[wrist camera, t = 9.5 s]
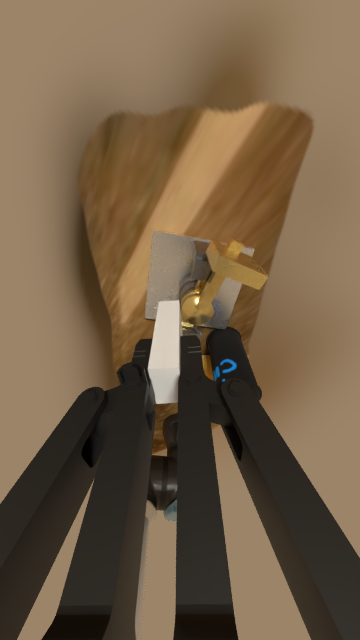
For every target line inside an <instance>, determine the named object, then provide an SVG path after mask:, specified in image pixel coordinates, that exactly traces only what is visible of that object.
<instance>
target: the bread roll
mask: <svg viewBox="0 0 360 640" xmlns="http://www.w3.org/2000/svg"><path fill="white" fill-rule="evenodd" d="M202 362H203V370H204V373H205V375H206V376H207V377H208V378H210V379H211V380H214V379H213V372H212V366H211V360H210V355H202Z"/></svg>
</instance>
